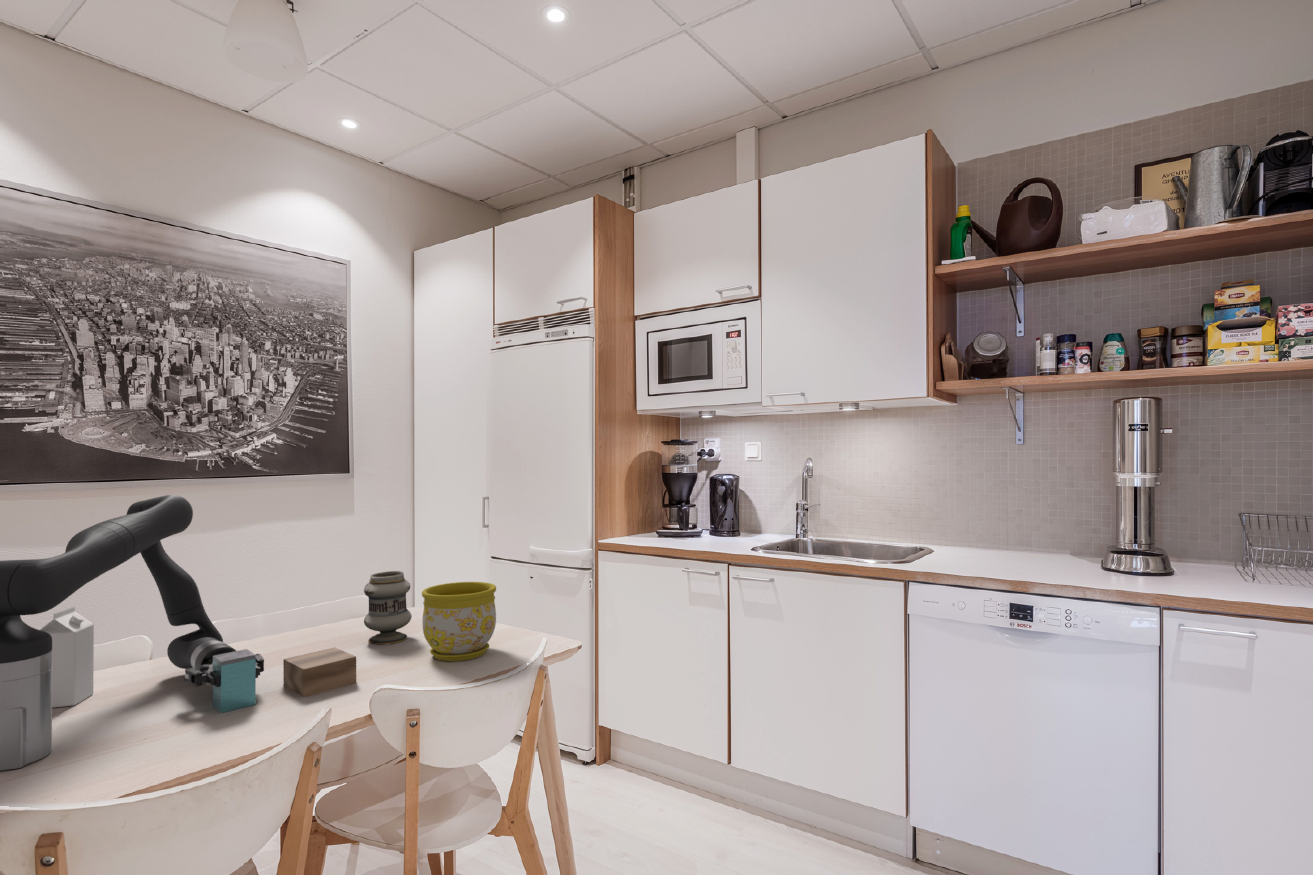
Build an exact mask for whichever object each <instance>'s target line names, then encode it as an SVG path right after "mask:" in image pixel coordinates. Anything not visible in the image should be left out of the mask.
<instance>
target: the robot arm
mask: <svg viewBox="0 0 1313 875" xmlns="http://www.w3.org/2000/svg"><path fill="white" fill-rule="evenodd" d="M193 515H194V510H193V506H192V504H191V503H190V502H189V501H188V499H186V498H185V497H183V496H180V495H177V494H166V495H162V496H156V497H153V498H149V499H145V500H139V501H136V502H134V503H132V504H131V505H129V507H128V509H127V511H126V514H124V515H121V516H117V517H114V518H109V519H107V520H104V521H101V522H98V523H96V524H94V525H91V526H89V527H87V528H85V529H83V530H81V531H78V532H77V533H75V535H74V536H72V537H71V538H70V540H69V541H68V542H67V545H66V547H65V552H64V553H62V554H58V555H55V556H52V557H48V558H37V559H35V558H31V559H8V560H0V771H7V770H8V771H9V770H13V769H14V770H16V769H20V768H23V767H24V766H26V765H29V764H32V763H34V762H37V761H39V760H41V759H44V758H45V757H46V756H48V755H50V754H51V752H52V743H53V742H52V738H53V737H52V736H53V734H52V733H53V729H52V728H53V727H52V726H53V723H52V722H53V721H52V720H53V718H52V717H53V708H52V636H51V635H50V634H49V633H47V632H44V631H41V630H40V629H38V628H37V629H36V628H35V627H32V626H31V625H28V624H27V623H26V622H25V621H23V620H22V617H21V616H30V615H31V616H33V615H37V614H38V615H39V614H42V613H45V612H48V611H50V610H52V609H54V608H55V607H57V606H58V605H60V604H61V603H63V602H64V601H65V600H67V599H68V598H69V597H71V596H72V595H73V594H75V593H76V592H78V591H79V590H80V589H81V588H82V587H84V586H85V585H87V584H88V583H91V581H94V580H95V579H96V578H99V577H100V576H102V575H103V574H105V573H107V572H109V571H111V570H113V569H115V568H117V567H118V566H120V565H122V564H125V562H127V561H129V560H130V559H132V558H133V557H135V556H137V555H139V554H140V555H141V557H142V560H143V561H144V562H145V564H146V567H147V568H148V570H149V573H150V574H151V576H152V577H153V580H154V582H155V584H156V587H157V589H158V592H159V594H160V595H159V596H160V597H161V601H162V604H163V607H164V610H165V614H166V617H167V621H168V623H169V624H170V625H171V626H173V627H180V626H185V625H186V626H187V625H197V627H198V628H199V629H196V630H195V631H192V632H188V633H186V634H183V635H180V636H177V637H176V638H173V639H172V640H171V641H170V643H169V644H168V646H167V651H166V652H167V657H168V659H169V661H170V663H171V664H173V665H174V666H175V667H177V668H179V669H184V682H186V683H187V684H189V685H192V686H195V687H201V686H202V685H203V684H204V683H205V684H206V686H207V685H209V686H212V687H213V686H215V687H220V675H219V674H217V673H216V672H214V670H213V656H214V655H219V654H224V653H229V652H234V651H237V650H236V649H235V648H233V646H230V645H228V644H227V643H226V642H224V639H223V636H222V634H221V633H220V631H219V630H218V629H217V627H216V626H215V624H214V623H213V622H212V620H211V618H210V617H209V616H208V614H207V612H206V609H205V606H204V604H203V600H202V597H201V595H200V594H201V593H200V591H199V588H198V585H197V583H196V581H195V580H194V578H193V577H192V576H191V575H190V574H189V573H188V572H187V571H186V570H184V568H182V566H180V565H179V564H177V563H176V562H175V560H174V559H173V558H171V557H170V556H169V555H168V554H167V552H166V550H165V549H164V547H163V545H162V540H163V539H166V538H169V537H172V536H174V535H177V534H180V533H183V532H184V531H186V530H187V529H188V527H189V526H191V523H192V521H193ZM254 654H255V655H256V679H258V678H259V676H261V673H263V672H264V671H265V659H264V657H263V656H262V654H261V653H254Z"/></svg>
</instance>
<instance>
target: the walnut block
mask: <svg viewBox="0 0 1313 875" xmlns="http://www.w3.org/2000/svg"><path fill="white" fill-rule="evenodd" d="M356 683H357V656H356V655H354V654H351V653H349V652H347V651H344V650H342V649H339V648H337V647H330V648H327V649H322V650H317V651H312V652H309V653H303V654H299V655H296V656H295V655H294V656H292V657H291V656H290V657H286V658H283V687H285V688H287V689H289V690H291V691H293V692H295V693H296V694H298V695H299V696H301V697H303V698H305V697H308V696H309V697H310V696H313V695H316V694H321V693H324V692H327V691H331V690H335V689H339V688H342V687H346V686H349V685H353V684H356Z"/></svg>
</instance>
